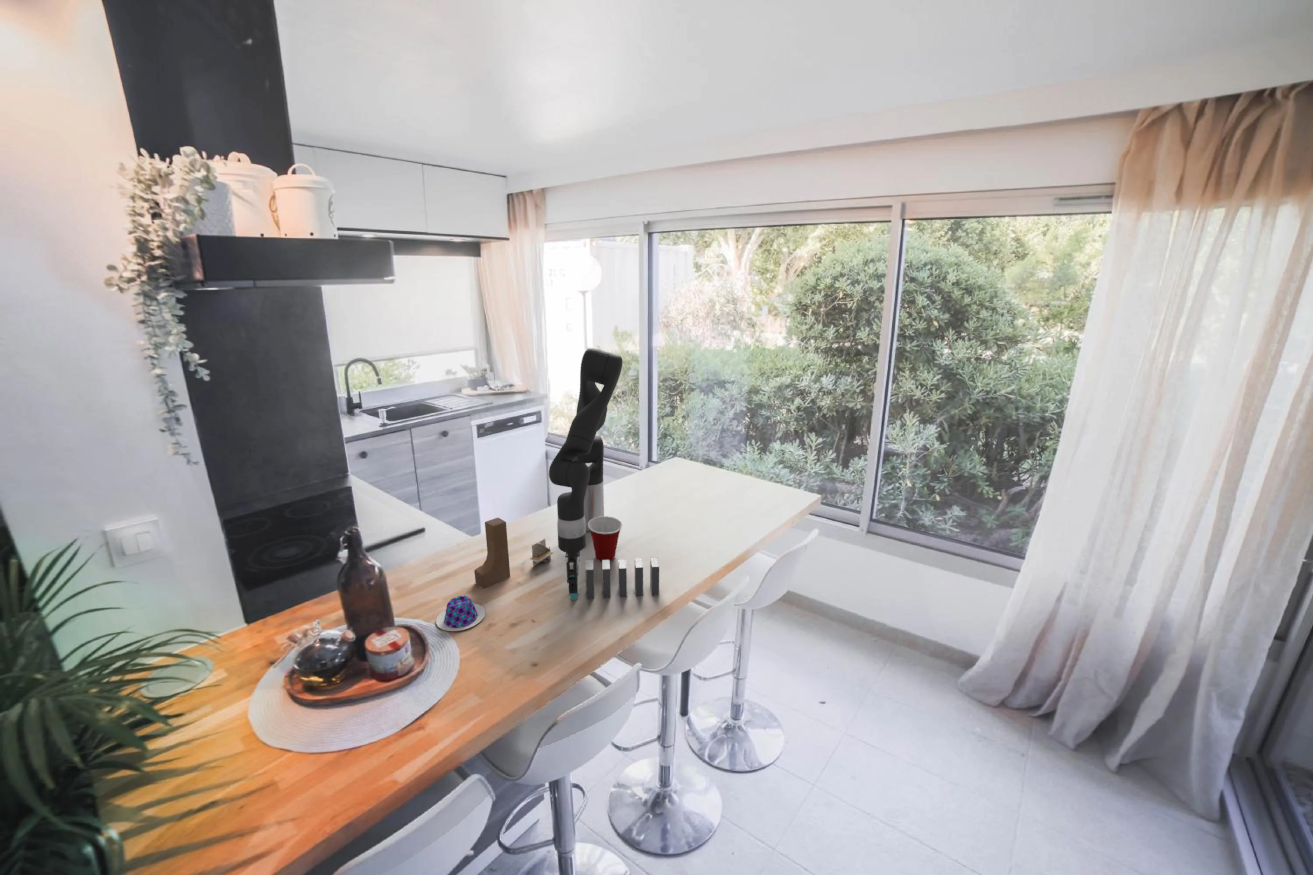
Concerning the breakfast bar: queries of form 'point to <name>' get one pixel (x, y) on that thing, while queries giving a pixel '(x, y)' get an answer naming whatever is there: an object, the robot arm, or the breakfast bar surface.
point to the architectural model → (540, 552)
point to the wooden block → (494, 555)
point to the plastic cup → (605, 536)
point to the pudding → (460, 614)
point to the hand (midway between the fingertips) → (573, 584)
